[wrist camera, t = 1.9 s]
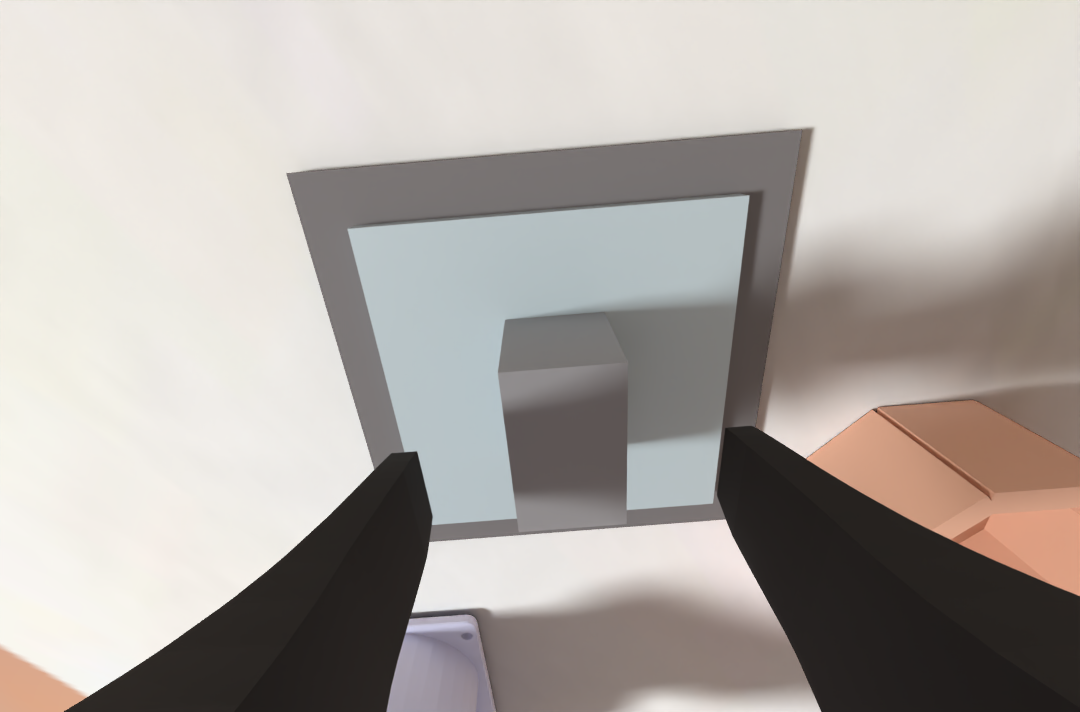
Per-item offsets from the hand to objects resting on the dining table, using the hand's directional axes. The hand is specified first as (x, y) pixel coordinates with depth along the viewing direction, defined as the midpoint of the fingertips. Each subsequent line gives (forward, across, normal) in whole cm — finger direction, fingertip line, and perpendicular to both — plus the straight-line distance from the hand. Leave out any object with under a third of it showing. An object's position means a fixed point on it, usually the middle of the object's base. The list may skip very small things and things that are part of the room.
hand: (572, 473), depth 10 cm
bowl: (+5, -13, +7) cm, 16 cm away
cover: (+5, 0, 0) cm, 5 cm away
